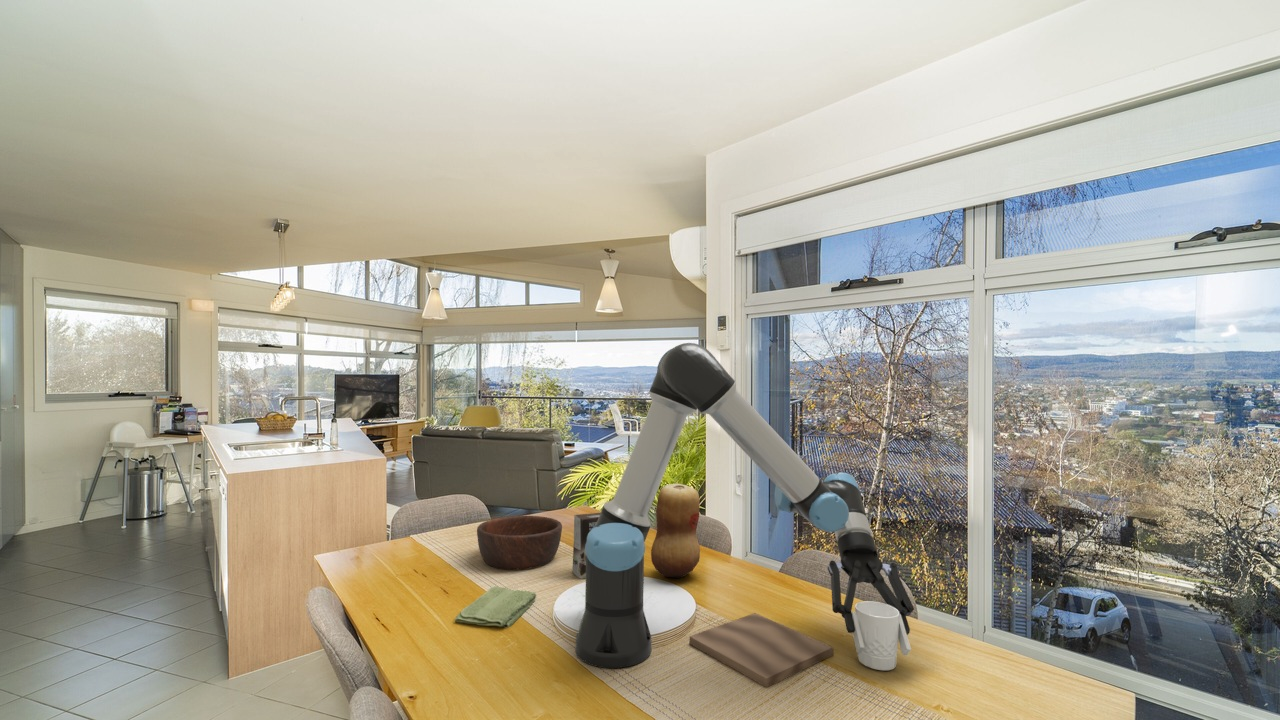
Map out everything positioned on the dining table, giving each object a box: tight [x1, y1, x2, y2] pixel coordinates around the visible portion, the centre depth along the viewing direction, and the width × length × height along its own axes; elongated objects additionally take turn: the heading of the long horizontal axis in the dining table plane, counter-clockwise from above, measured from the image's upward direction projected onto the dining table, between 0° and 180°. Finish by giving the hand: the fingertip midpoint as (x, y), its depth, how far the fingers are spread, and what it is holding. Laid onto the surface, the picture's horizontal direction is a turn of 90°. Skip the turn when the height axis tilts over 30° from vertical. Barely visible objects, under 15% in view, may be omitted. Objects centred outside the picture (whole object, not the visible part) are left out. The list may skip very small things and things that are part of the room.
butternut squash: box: [650, 483, 701, 579], centre depth 153 cm, size 14×13×25 cm
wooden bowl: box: [476, 515, 563, 570], centre depth 166 cm, size 25×25×10 cm
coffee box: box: [572, 512, 601, 580], centre depth 154 cm, size 9×6×16 cm
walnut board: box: [689, 612, 834, 688], centre depth 111 cm, size 20×20×2 cm
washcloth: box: [454, 585, 538, 628], centre depth 127 cm, size 13×18×3 cm
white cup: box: [854, 600, 899, 671], centre depth 106 cm, size 8×8×10 cm
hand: (883, 651), depth 102 cm, fingers closed on white cup, 8 cm apart
